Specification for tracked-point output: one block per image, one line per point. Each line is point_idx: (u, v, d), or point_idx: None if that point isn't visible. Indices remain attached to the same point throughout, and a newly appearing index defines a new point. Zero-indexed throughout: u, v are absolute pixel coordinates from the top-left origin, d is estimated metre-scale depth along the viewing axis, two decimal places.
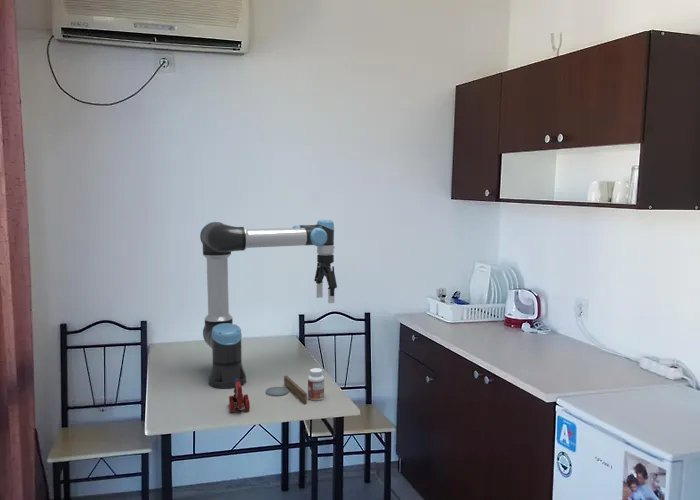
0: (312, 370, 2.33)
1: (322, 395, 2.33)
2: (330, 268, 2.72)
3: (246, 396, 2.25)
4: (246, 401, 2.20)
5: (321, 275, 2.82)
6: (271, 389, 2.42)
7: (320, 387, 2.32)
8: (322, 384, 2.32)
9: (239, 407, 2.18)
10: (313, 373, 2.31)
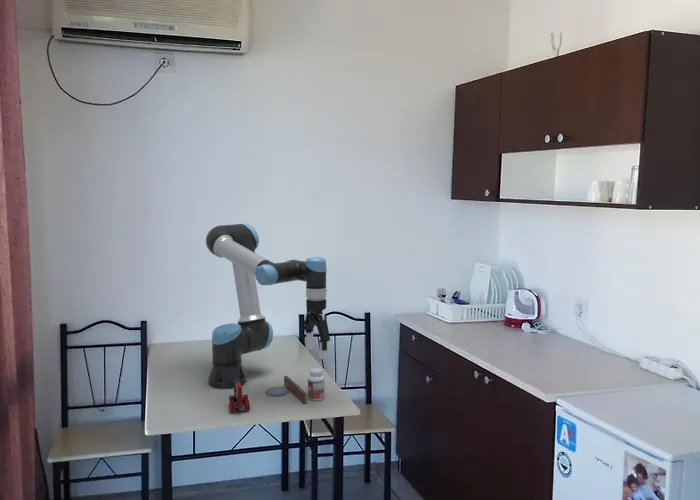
0: (312, 370, 2.33)
1: (322, 395, 2.33)
2: (322, 317, 2.24)
3: (246, 396, 2.25)
4: (246, 401, 2.20)
5: (311, 323, 2.34)
6: (271, 389, 2.42)
7: (320, 387, 2.32)
8: (322, 384, 2.32)
9: (239, 407, 2.18)
10: (313, 373, 2.31)
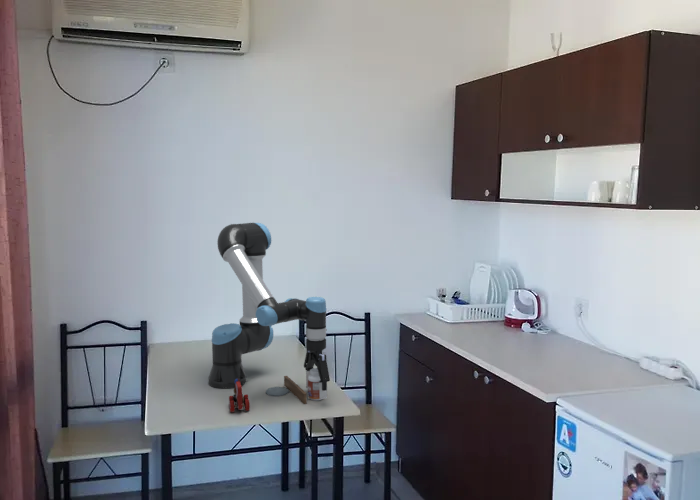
0: (312, 370, 2.33)
1: None
2: (321, 357, 2.26)
3: (246, 396, 2.25)
4: (246, 401, 2.20)
5: (311, 362, 2.36)
6: (271, 389, 2.42)
7: None
8: None
9: (239, 407, 2.18)
10: (313, 373, 2.31)
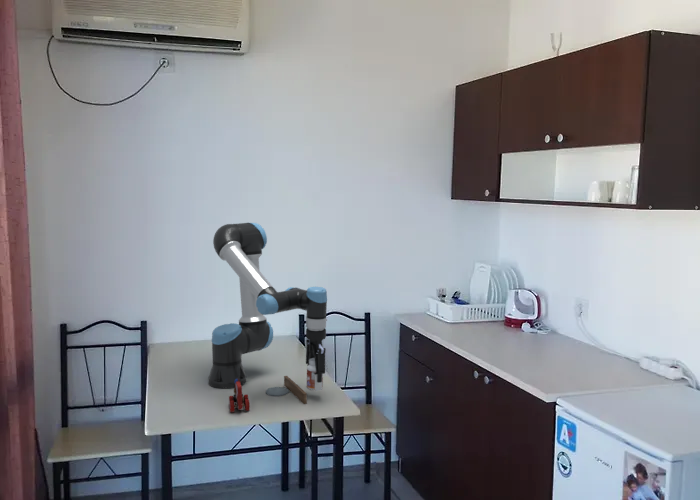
0: (311, 360, 2.33)
1: None
2: (321, 351, 2.26)
3: (246, 396, 2.25)
4: (246, 401, 2.20)
5: (312, 354, 2.35)
6: (271, 389, 2.42)
7: None
8: None
9: (239, 407, 2.18)
10: (312, 363, 2.31)
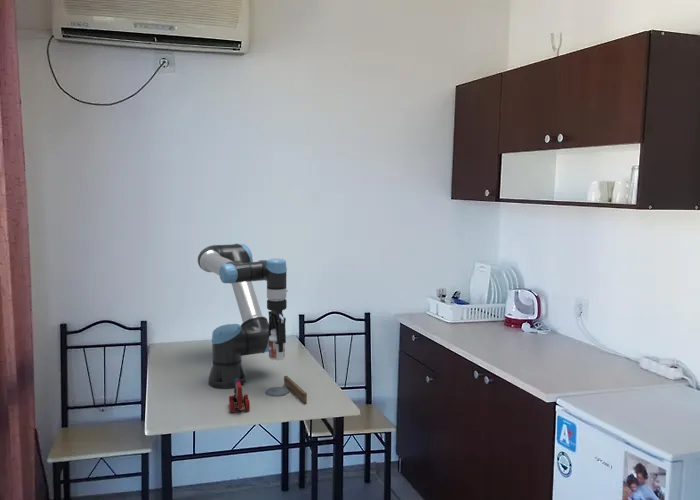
0: (273, 330, 2.37)
1: None
2: (281, 320, 2.31)
3: (246, 396, 2.25)
4: (246, 401, 2.20)
5: (274, 325, 2.39)
6: (271, 389, 2.42)
7: None
8: None
9: (239, 407, 2.18)
10: (273, 333, 2.35)
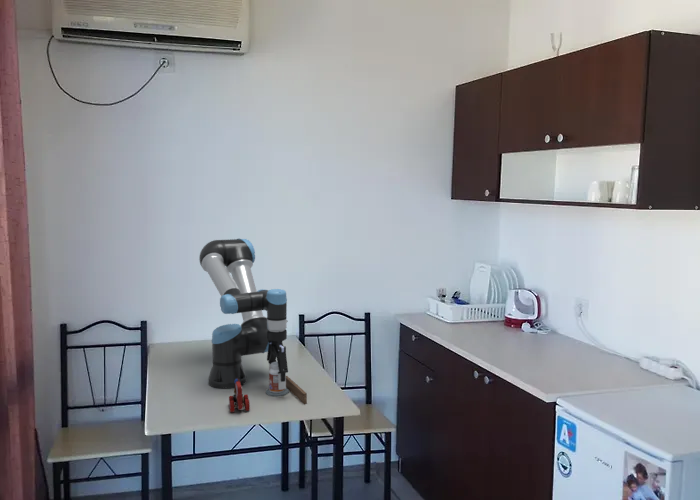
0: (273, 363, 2.38)
1: None
2: (281, 349, 2.32)
3: (246, 396, 2.25)
4: (246, 401, 2.20)
5: (273, 354, 2.42)
6: None
7: None
8: None
9: (239, 407, 2.18)
10: (273, 366, 2.37)
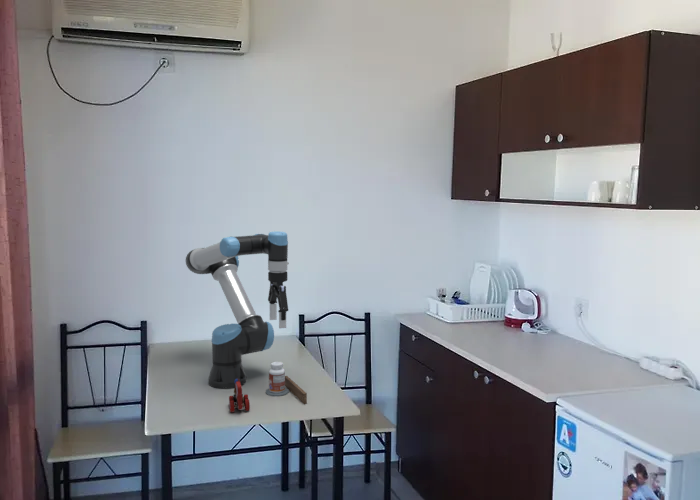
0: (273, 363, 2.38)
1: (283, 388, 2.38)
2: (281, 288, 2.35)
3: (246, 396, 2.25)
4: (246, 401, 2.20)
5: (274, 295, 2.46)
6: None
7: (280, 380, 2.37)
8: (282, 377, 2.38)
9: (239, 407, 2.18)
10: (273, 366, 2.37)
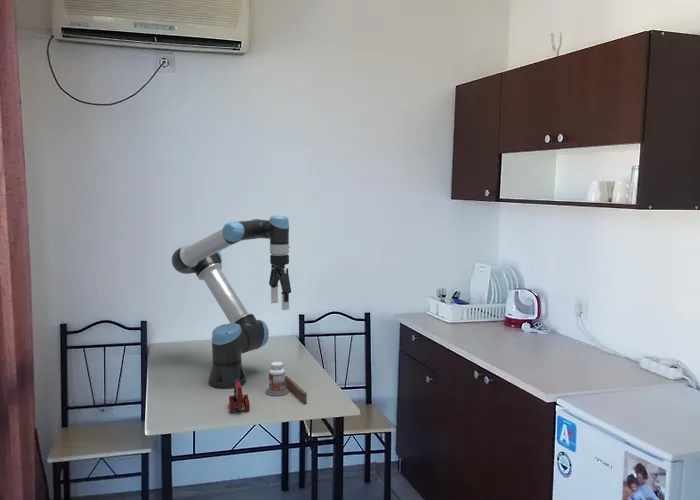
0: (273, 363, 2.38)
1: (283, 388, 2.38)
2: (284, 270, 2.40)
3: (246, 396, 2.25)
4: (246, 401, 2.20)
5: (275, 278, 2.51)
6: None
7: (280, 380, 2.37)
8: (282, 377, 2.38)
9: (239, 407, 2.18)
10: (273, 366, 2.37)
